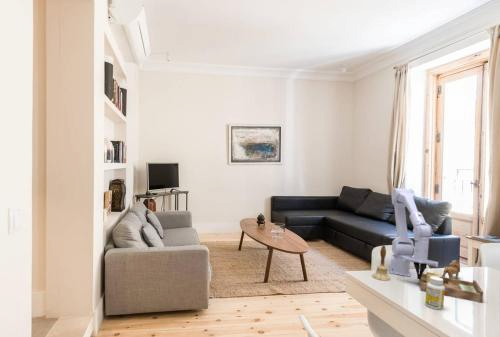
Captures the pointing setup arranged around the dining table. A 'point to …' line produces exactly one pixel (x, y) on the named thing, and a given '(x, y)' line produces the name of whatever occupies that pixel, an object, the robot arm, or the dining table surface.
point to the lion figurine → (452, 269)
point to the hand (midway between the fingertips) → (418, 278)
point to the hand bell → (382, 267)
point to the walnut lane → (458, 288)
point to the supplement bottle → (435, 293)
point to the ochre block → (430, 276)
